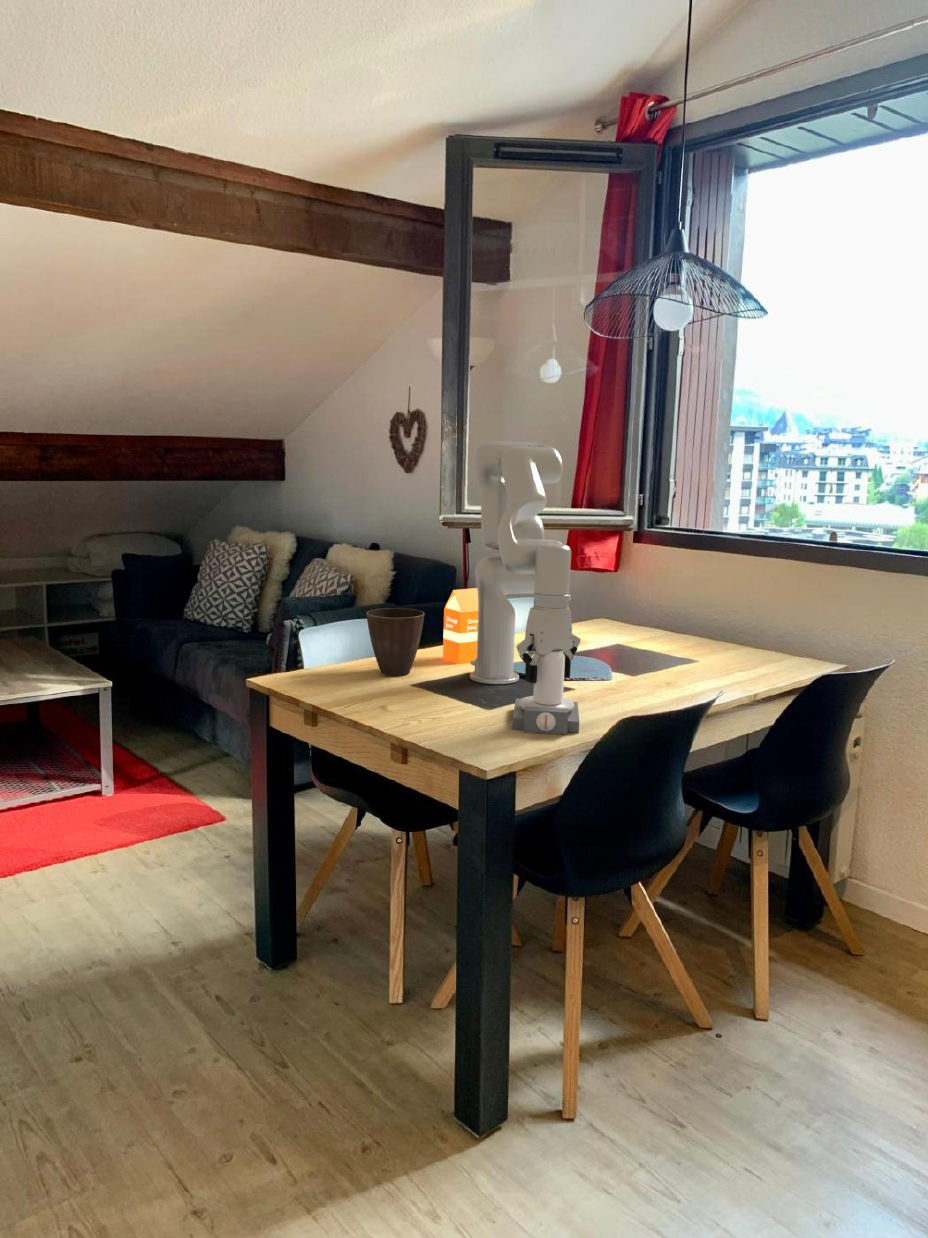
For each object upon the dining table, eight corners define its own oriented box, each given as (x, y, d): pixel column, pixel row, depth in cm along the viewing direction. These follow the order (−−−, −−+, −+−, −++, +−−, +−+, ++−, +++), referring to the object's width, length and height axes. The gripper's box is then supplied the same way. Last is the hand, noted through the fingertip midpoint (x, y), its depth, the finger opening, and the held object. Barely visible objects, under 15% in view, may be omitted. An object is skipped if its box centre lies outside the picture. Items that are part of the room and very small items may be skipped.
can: (560, 698, 211) (563, 645, 209) (564, 706, 205) (567, 652, 203) (531, 698, 211) (533, 645, 209) (534, 705, 204) (537, 651, 202)
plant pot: (362, 678, 240) (362, 616, 237) (369, 665, 255) (370, 606, 252) (420, 681, 240) (422, 618, 237) (425, 667, 254) (426, 608, 252)
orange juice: (442, 659, 265) (444, 588, 262) (467, 655, 271) (469, 586, 267) (459, 664, 259) (461, 592, 256) (484, 660, 264) (486, 589, 261)
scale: (515, 708, 217) (516, 688, 216) (576, 712, 215) (578, 691, 214) (511, 732, 198) (512, 710, 198) (579, 736, 197) (580, 713, 196)
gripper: (569, 596, 211) (565, 671, 214) (508, 601, 201) (505, 680, 204) (592, 601, 205) (588, 678, 208) (531, 607, 195) (527, 688, 198)
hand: (547, 679), depth 206 cm, fingers open, 9 cm apart
